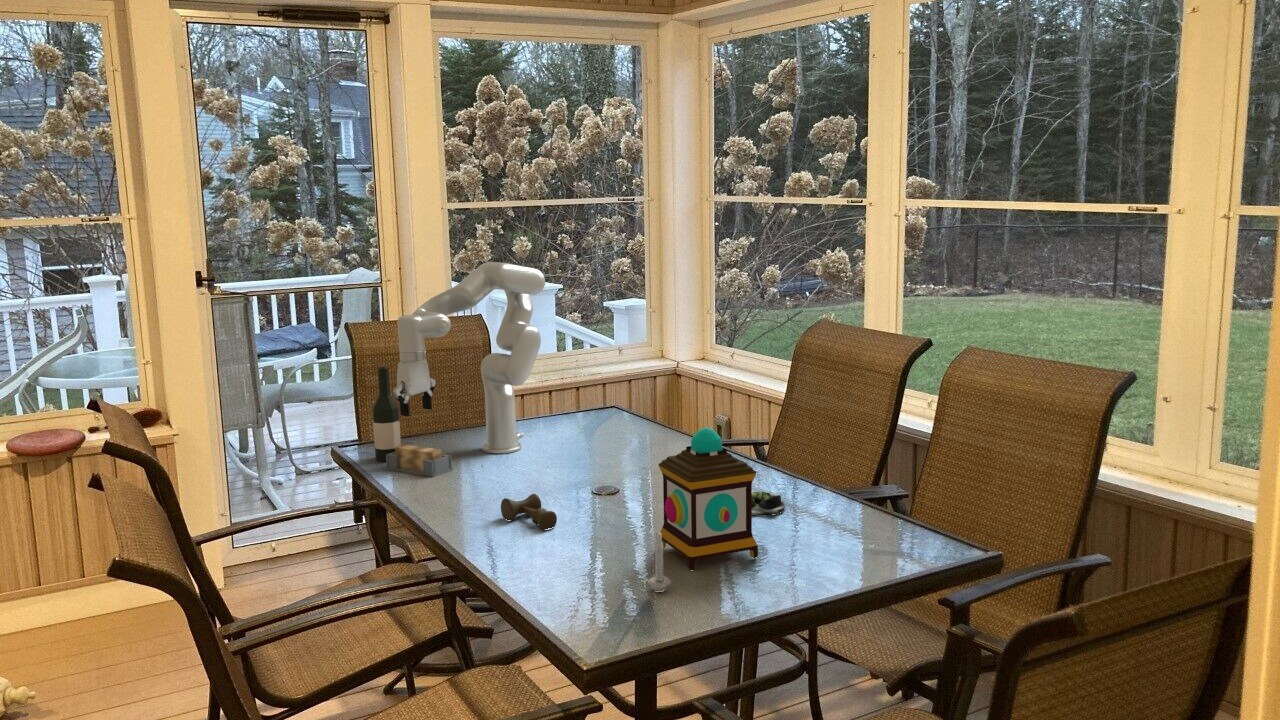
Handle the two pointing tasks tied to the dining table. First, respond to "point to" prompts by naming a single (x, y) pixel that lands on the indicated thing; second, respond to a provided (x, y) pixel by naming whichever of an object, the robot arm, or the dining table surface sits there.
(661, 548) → the screw
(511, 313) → the robot arm
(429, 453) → the slat
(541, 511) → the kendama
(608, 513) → the dining table surface
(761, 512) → the salad plate
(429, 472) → the end-cap rail
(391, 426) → the wine bottle
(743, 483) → the decorative lantern
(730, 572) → the dining table surface
